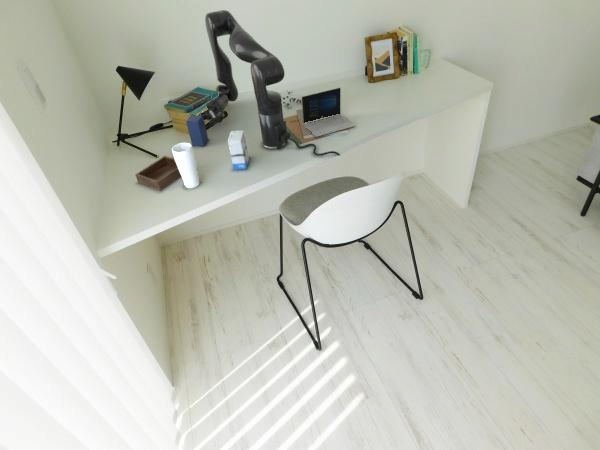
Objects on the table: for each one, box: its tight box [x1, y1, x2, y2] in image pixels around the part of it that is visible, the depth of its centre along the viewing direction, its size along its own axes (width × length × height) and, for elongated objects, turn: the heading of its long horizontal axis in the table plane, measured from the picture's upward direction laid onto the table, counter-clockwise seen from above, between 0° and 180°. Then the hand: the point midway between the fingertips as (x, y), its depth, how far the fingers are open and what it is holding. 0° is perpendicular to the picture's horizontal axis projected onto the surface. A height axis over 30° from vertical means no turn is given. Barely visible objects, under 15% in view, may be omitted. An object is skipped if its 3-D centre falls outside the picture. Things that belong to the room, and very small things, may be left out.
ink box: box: [227, 130, 250, 171], centre depth 146 cm, size 9×5×12 cm, turn 178°
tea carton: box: [185, 115, 209, 147], centre depth 161 cm, size 5×6×11 cm
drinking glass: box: [171, 142, 201, 189], centre depth 136 cm, size 7×7×15 cm
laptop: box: [301, 87, 355, 138], centre depth 164 cm, size 18×12×13 cm
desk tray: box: [134, 155, 182, 192], centre depth 145 cm, size 12×15×4 cm
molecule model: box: [281, 89, 302, 109], centre depth 186 cm, size 6×12×8 cm, turn 128°
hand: (200, 124), depth 163 cm, fingers open, 8 cm apart
